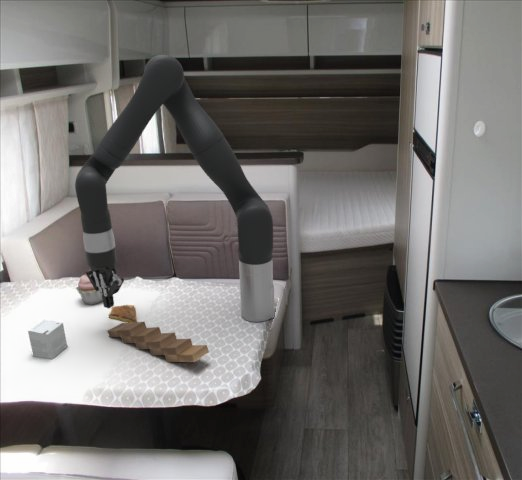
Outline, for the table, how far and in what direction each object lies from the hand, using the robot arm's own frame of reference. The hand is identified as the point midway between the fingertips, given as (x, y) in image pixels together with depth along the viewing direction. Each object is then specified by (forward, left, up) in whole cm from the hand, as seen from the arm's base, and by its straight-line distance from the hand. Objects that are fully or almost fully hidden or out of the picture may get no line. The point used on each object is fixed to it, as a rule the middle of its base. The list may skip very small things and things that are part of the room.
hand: (108, 306), depth 137 cm
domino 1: (-1, +1, -7) cm, 7 cm away
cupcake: (+9, -20, -8) cm, 23 cm away
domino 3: (-9, +8, -7) cm, 14 cm away
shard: (-3, -9, -8) cm, 13 cm away
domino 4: (-13, +11, -7) cm, 19 cm away
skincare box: (+14, +8, -8) cm, 18 cm away
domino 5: (-17, +14, -7) cm, 24 cm away
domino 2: (-5, +4, -7) cm, 10 cm away
